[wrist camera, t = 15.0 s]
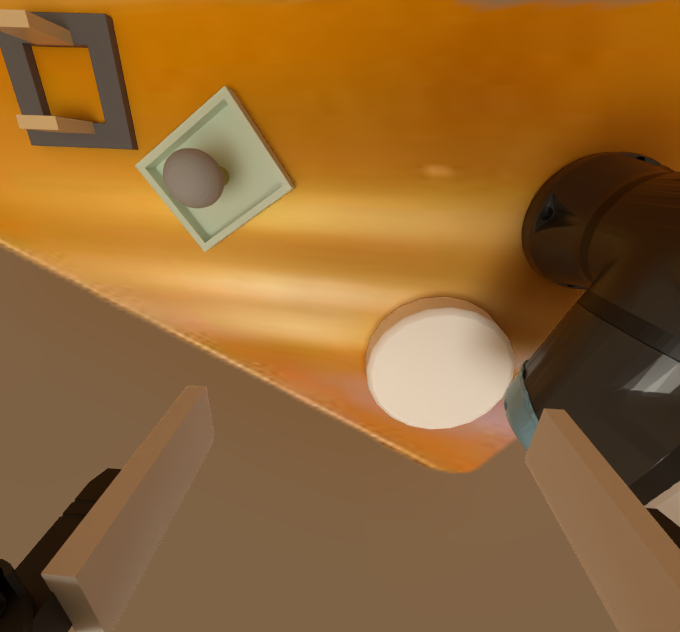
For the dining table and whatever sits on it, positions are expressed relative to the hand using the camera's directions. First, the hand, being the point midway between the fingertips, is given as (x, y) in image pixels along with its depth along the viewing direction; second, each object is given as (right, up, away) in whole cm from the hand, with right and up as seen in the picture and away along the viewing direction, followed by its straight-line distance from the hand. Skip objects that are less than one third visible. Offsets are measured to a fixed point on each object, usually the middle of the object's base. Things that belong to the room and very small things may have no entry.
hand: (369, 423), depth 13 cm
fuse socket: (-31, +30, +23) cm, 49 cm away
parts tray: (-15, +21, +26) cm, 37 cm away
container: (+13, -2, +36) cm, 38 cm away
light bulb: (-15, +21, +26) cm, 37 cm away
